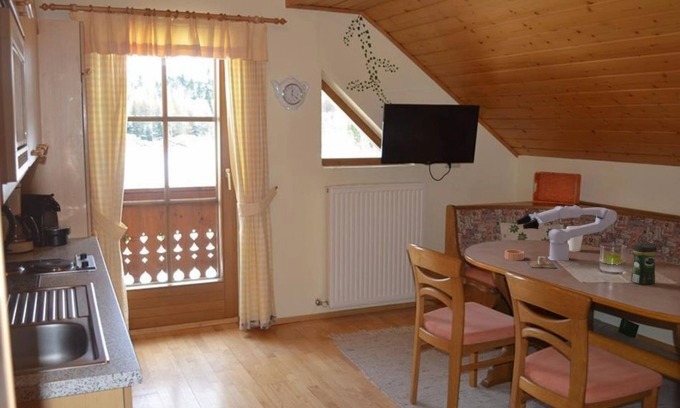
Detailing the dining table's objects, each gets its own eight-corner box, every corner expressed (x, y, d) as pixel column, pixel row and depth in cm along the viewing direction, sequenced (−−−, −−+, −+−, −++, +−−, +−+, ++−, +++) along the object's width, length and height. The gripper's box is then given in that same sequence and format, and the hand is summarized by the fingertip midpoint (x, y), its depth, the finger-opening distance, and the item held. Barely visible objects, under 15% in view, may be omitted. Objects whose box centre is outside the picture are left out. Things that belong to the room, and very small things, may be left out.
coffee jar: (645, 280, 292) (649, 240, 289) (657, 284, 284) (661, 244, 281) (627, 281, 290) (630, 241, 287) (638, 285, 282) (641, 245, 280)
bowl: (522, 257, 336) (522, 250, 336) (525, 261, 327) (525, 253, 326) (503, 256, 338) (503, 249, 337) (506, 260, 328) (506, 253, 328)
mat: (554, 263, 323) (554, 262, 323) (561, 271, 308) (561, 270, 307) (522, 262, 325) (522, 261, 325) (527, 269, 309) (527, 268, 309)
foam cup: (580, 248, 359) (581, 226, 357) (585, 252, 350) (586, 229, 348) (563, 248, 360) (564, 225, 358) (567, 251, 351) (568, 228, 349)
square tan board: (551, 263, 321) (551, 254, 321) (556, 268, 310) (556, 260, 309) (527, 262, 323) (527, 254, 322) (531, 268, 311) (531, 259, 310)
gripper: (537, 206, 334) (513, 213, 333) (550, 214, 320) (524, 221, 319) (539, 218, 336) (515, 225, 335) (552, 226, 322) (527, 234, 321)
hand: (520, 224), depth 327 cm, fingers open, 7 cm apart
